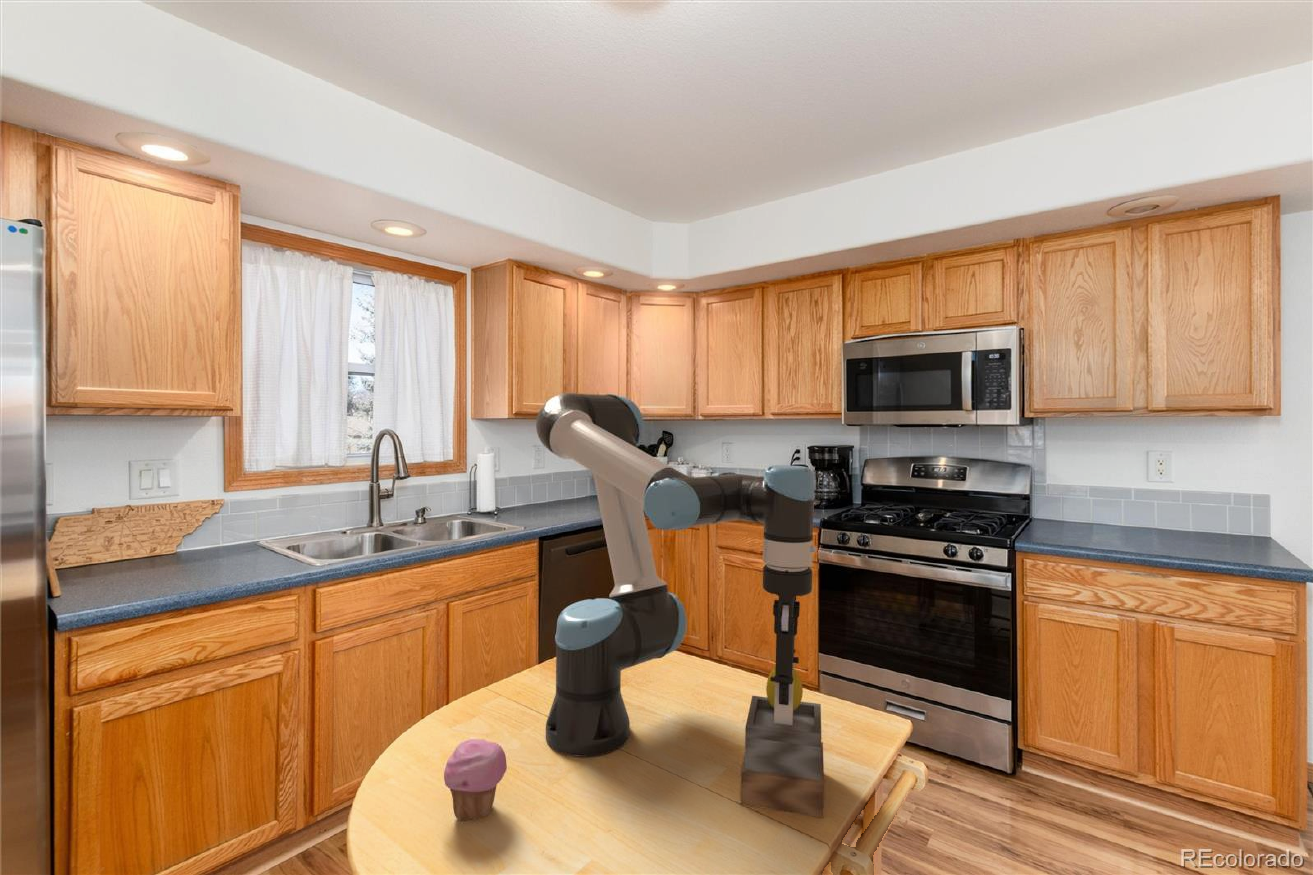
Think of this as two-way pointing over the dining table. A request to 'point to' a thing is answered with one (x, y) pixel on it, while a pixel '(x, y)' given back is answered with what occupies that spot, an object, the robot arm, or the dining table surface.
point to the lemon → (796, 689)
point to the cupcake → (474, 777)
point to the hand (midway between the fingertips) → (784, 713)
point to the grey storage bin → (783, 760)
